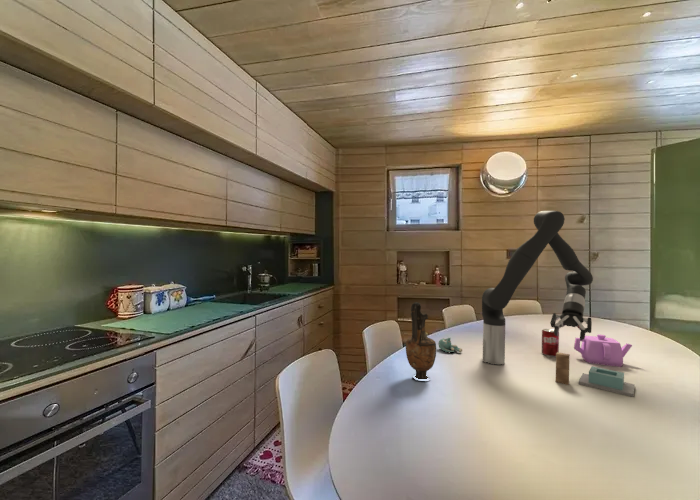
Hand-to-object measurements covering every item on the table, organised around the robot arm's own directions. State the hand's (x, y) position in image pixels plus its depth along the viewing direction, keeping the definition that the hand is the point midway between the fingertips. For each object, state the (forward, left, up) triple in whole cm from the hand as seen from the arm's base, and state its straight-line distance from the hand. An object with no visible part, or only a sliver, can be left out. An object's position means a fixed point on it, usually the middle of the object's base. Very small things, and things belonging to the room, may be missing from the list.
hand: (568, 337), depth 136 cm
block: (-4, -11, -15) cm, 19 cm away
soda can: (-2, +28, -16) cm, 32 cm away
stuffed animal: (-48, +12, -16) cm, 52 cm away
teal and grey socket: (+11, -7, -15) cm, 20 cm away
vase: (-55, -31, -16) cm, 65 cm away
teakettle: (+19, +28, -16) cm, 37 cm away
